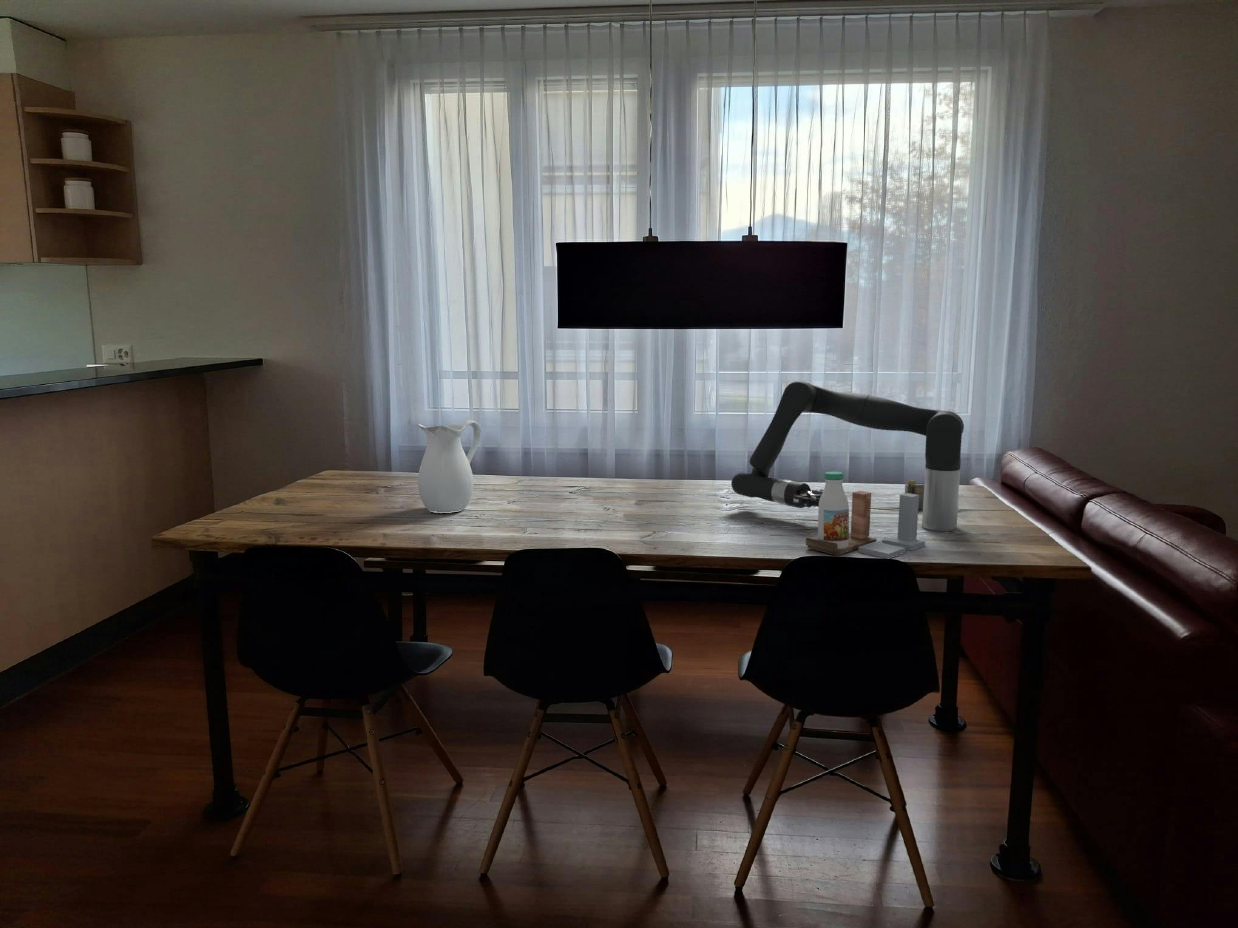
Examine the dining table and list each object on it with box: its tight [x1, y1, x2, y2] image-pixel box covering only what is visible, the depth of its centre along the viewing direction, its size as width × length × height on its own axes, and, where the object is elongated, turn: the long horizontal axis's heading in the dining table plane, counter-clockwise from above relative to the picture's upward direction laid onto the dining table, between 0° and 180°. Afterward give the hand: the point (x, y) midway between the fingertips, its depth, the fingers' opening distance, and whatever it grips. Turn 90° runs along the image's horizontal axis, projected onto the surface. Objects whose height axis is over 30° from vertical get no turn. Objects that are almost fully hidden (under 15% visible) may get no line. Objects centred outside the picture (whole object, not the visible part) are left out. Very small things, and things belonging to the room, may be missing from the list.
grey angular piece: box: [858, 492, 926, 559], centre depth 218 cm, size 18×8×13 cm, turn 132°
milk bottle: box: [817, 471, 850, 549], centre depth 217 cm, size 8×8×20 cm
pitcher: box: [417, 419, 482, 512], centre depth 264 cm, size 24×17×28 cm
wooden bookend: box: [805, 490, 877, 556], centre depth 220 cm, size 20×9×13 cm, turn 132°
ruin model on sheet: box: [904, 479, 924, 509], centre depth 265 cm, size 11×3×10 cm, turn 86°
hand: (837, 502), depth 237 cm, fingers open, 8 cm apart
